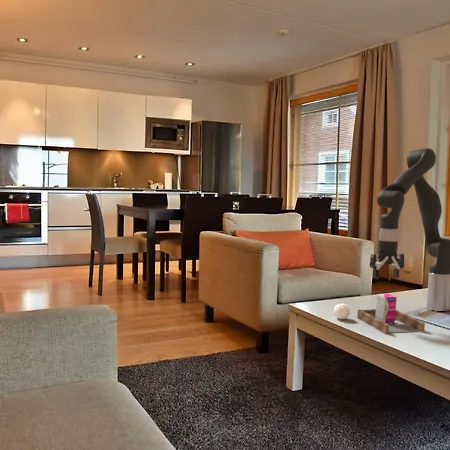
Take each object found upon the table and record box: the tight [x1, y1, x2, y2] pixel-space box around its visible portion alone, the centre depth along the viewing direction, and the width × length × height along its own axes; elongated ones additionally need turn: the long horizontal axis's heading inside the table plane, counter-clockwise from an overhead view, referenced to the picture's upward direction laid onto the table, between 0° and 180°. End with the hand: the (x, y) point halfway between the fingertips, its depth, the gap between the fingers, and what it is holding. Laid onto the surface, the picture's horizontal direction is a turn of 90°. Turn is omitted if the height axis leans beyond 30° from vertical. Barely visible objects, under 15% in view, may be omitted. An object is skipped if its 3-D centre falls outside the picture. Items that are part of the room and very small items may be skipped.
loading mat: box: [389, 323, 419, 334], centre depth 187 cm, size 9×12×1 cm
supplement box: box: [375, 293, 397, 325], centre depth 195 cm, size 6×6×12 cm
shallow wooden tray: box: [357, 308, 426, 335], centre depth 193 cm, size 22×17×4 cm
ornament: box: [333, 303, 351, 320], centre depth 199 cm, size 6×7×7 cm
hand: (386, 278), depth 195 cm, fingers open, 8 cm apart
